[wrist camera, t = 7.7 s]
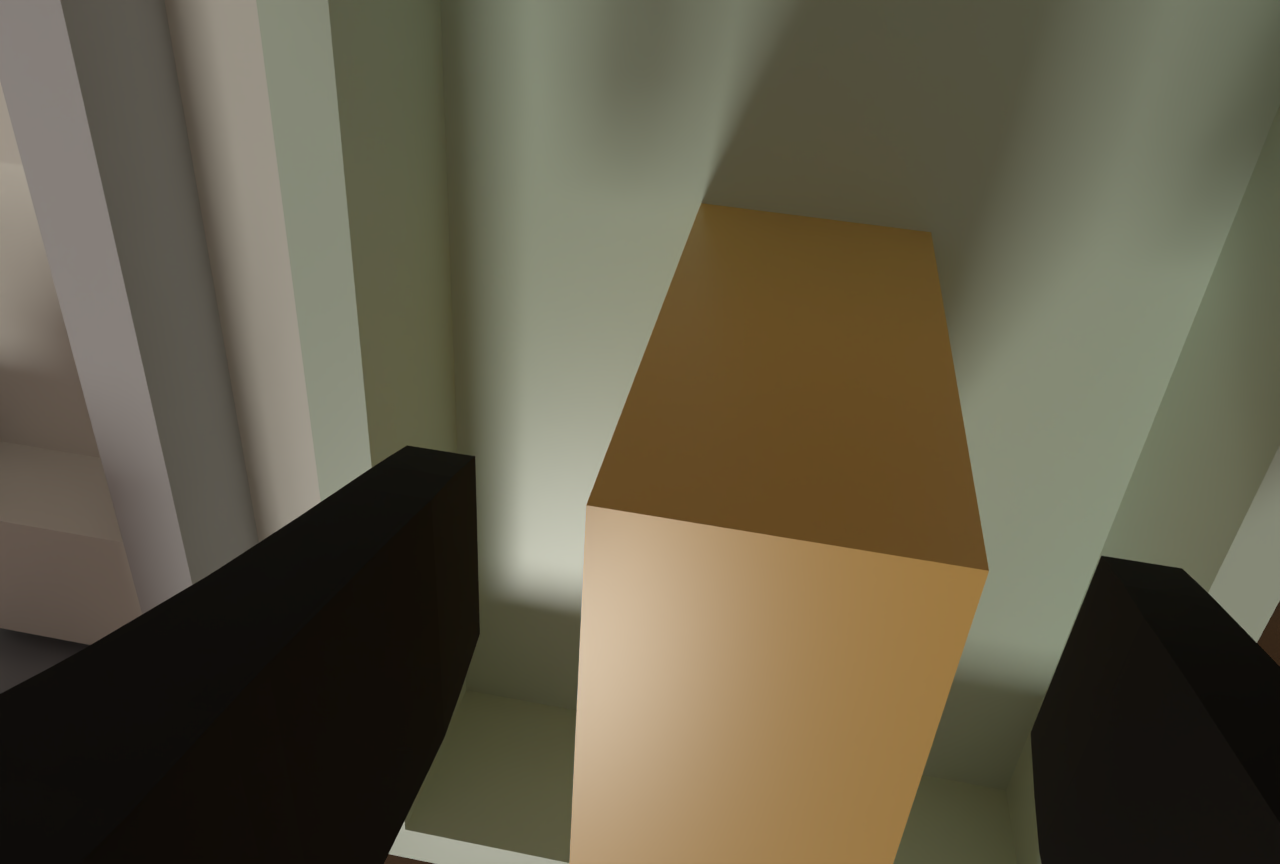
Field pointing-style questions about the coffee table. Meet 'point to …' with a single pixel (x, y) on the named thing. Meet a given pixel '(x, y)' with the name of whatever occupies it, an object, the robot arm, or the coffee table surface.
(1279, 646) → the coffee table surface
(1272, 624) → the coffee table surface
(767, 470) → the block
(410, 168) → the tray
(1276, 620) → the coffee table surface
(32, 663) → the block
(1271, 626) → the coffee table surface
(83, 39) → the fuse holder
